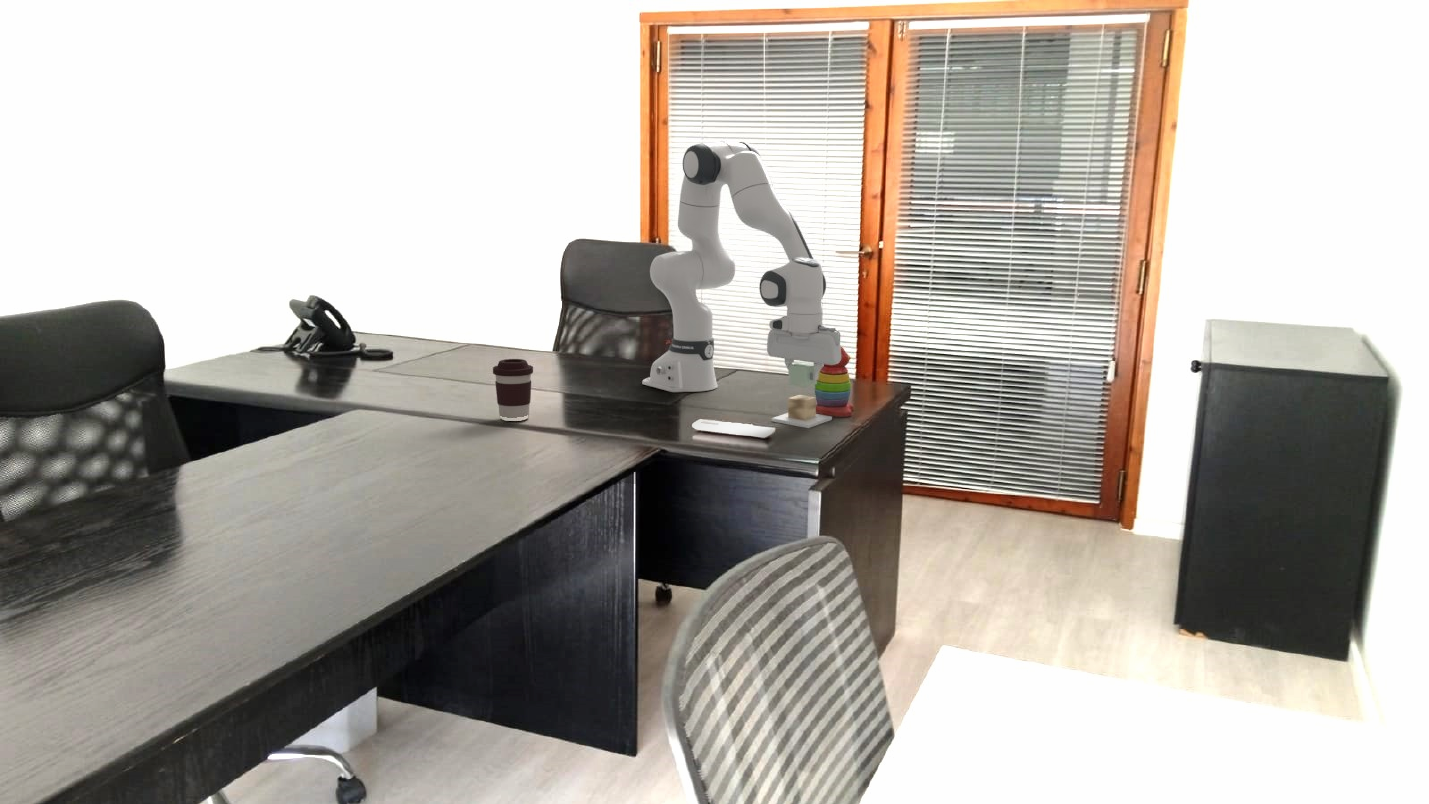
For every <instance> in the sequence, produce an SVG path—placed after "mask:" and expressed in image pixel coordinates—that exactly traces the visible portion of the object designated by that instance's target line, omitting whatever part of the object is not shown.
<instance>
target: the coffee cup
mask: <svg viewBox="0 0 1429 804" xmlns="http://www.w3.org/2000/svg"><path fill="white" fill-rule="evenodd" d="M533 373H534V366H533V365H530V364H529V363H528V361H527V360H525V359H521V358H506V359H500V360H499V361H498V363H497V365H495V366H493V367H492V374H493V375H495V392H496V393H495V394H496V402H497V405H498V412H499V413H498V414H499V417H500V416H502V417H507V418H517V417H524V416H527V415H529V416H530V403H531V396H532V395H531V394H532V380H531V379H532V378H531V375H533Z"/></svg>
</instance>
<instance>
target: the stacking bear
mask: <svg viewBox="0 0 1429 804" xmlns="http://www.w3.org/2000/svg"><path fill="white" fill-rule="evenodd" d="M850 360H851V356H850V354H848V353H847V352H846V351H845V348H844V347H843V346H841V361H840V362H839V363H838V364H835V365H827V364H823V367H822V368H821V370H820V372H819V374H818V380H817V384H816V385H814V396H815V397H816V414H820V415H826V416H831V417H835V418H836V417H837V418H838V417H840V418H848V417H849V418H850V417H851V416H852V414H853V413H852V412H853V411H854V409H855V408H854V404H852V403H851V402H849V399H850V395H851V390H852V385H851V384H852V383H851V380H850V374H849V370H848V368H847V367H846V366H847V365H848V364H849V362H850Z"/></svg>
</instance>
